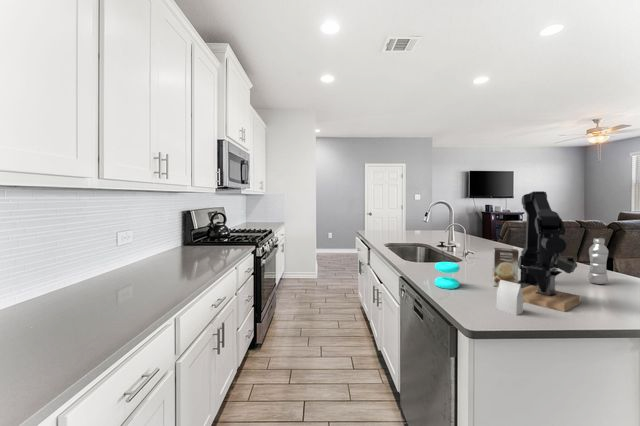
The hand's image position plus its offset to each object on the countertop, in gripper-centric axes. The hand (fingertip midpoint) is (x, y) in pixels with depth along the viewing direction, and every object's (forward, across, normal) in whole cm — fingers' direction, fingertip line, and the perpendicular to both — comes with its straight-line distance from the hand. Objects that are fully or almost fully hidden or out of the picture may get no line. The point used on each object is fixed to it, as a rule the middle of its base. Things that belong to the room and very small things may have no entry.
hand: (546, 291), depth 117 cm
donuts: (+4, -12, +33) cm, 35 cm away
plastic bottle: (+4, +45, -3) cm, 45 cm away
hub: (+4, 0, 0) cm, 4 cm away
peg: (+2, 0, 0) cm, 2 cm away
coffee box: (+4, +9, +19) cm, 21 cm away
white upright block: (+4, -21, +3) cm, 22 cm away
